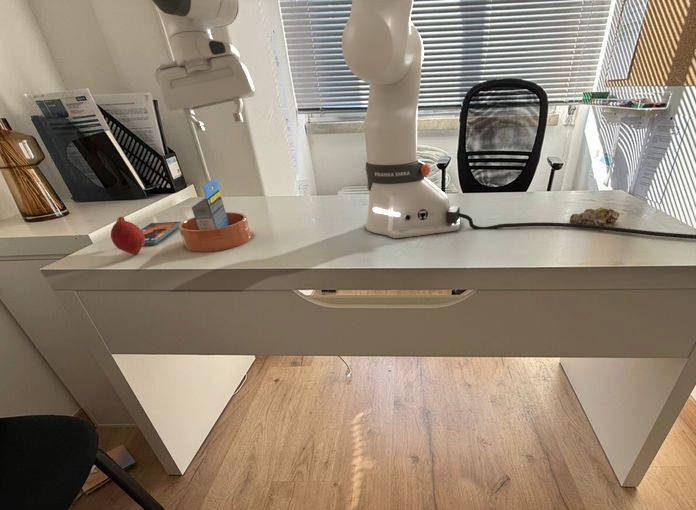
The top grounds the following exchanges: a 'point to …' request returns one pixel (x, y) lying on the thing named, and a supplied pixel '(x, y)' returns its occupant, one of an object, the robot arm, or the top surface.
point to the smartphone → (158, 231)
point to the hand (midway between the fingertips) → (220, 126)
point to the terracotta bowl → (215, 234)
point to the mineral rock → (596, 217)
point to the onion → (127, 236)
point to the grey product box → (210, 209)
